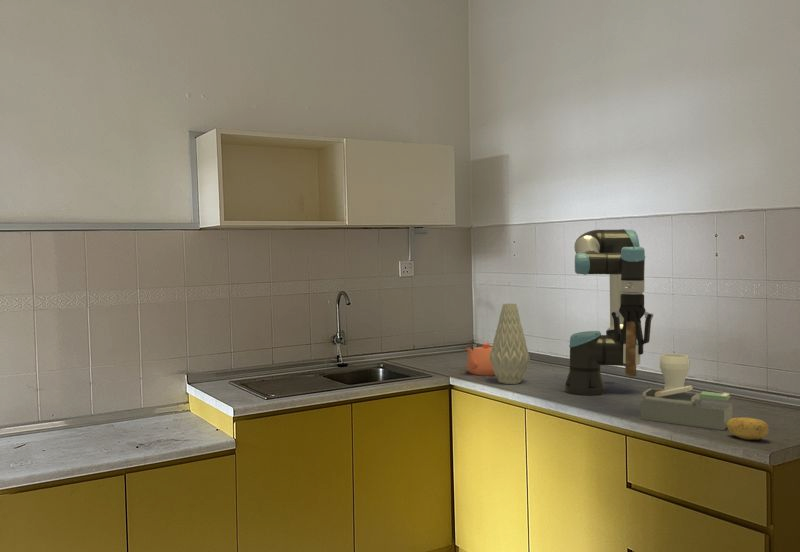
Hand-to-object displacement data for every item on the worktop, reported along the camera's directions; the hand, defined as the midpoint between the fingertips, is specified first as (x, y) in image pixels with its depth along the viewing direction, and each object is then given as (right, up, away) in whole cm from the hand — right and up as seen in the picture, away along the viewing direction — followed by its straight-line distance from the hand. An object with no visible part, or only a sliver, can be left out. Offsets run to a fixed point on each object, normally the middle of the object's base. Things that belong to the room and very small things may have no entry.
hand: (631, 363), depth 236 cm
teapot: (-39, -15, +82) cm, 92 cm away
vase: (-32, -15, +60) cm, 69 cm away
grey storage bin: (+15, -17, -7) cm, 24 cm away
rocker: (+12, -8, -5) cm, 15 cm away
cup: (+27, -16, +34) cm, 47 cm away
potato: (+24, -18, -30) cm, 42 cm away
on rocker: (+22, -9, -13) cm, 27 cm away
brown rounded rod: (0, -4, -1) cm, 4 cm away
